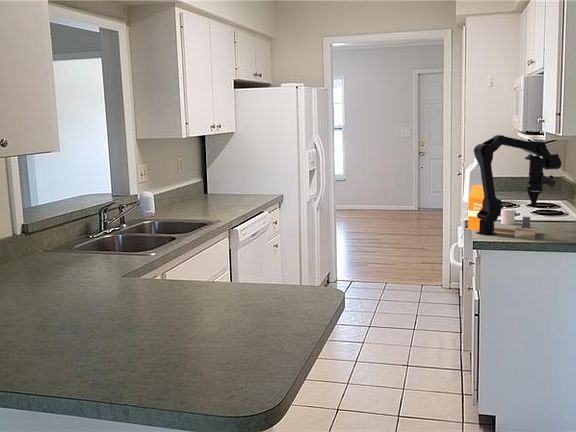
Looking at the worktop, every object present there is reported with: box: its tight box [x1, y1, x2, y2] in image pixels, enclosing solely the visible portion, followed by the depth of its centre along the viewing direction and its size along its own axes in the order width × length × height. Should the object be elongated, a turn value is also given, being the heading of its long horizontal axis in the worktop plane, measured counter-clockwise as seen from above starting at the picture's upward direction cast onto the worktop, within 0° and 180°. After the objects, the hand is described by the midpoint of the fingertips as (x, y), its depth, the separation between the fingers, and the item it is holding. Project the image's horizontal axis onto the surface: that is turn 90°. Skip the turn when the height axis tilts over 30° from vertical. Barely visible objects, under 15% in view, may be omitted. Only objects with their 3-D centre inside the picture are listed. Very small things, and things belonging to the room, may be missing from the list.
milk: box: [462, 158, 482, 204], centre depth 380 cm, size 12×12×26 cm
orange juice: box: [467, 185, 484, 231], centre depth 290 cm, size 8×9×20 cm
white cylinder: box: [500, 208, 517, 226], centre depth 304 cm, size 7×7×7 cm
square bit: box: [521, 216, 531, 228], centre depth 276 cm, size 3×3×8 cm
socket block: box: [514, 224, 537, 240], centre depth 274 cm, size 16×8×3 cm, turn 157°
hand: (534, 205), depth 280 cm, fingers open, 9 cm apart
